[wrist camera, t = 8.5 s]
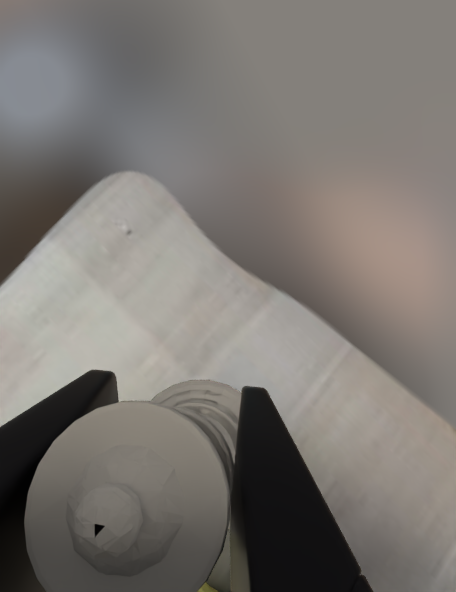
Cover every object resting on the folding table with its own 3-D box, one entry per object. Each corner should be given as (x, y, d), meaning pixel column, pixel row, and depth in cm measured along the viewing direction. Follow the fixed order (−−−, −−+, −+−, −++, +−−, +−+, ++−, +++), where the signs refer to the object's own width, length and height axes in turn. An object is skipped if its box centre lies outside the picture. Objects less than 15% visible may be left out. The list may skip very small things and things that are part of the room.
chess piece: (276, 391, 14) (352, 324, 4) (263, 536, 12) (325, 918, 3) (150, 374, 14) (-51, 275, 4) (124, 514, 13) (-231, 792, 3)
